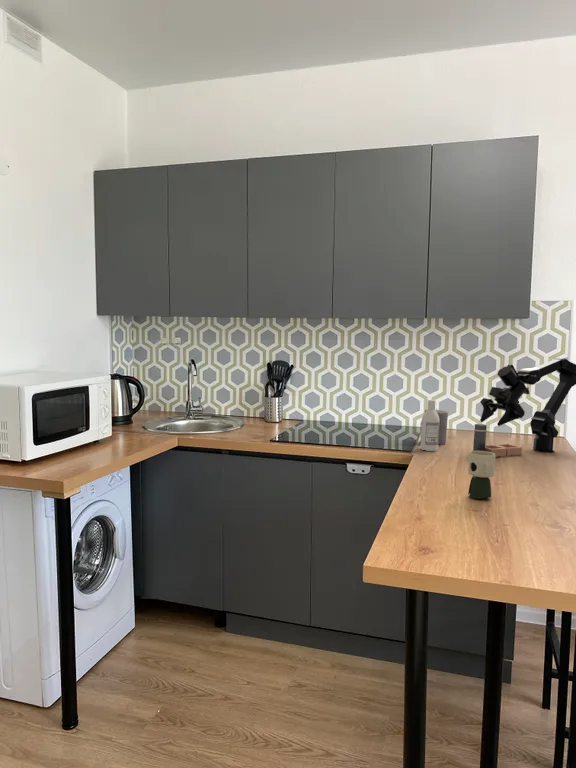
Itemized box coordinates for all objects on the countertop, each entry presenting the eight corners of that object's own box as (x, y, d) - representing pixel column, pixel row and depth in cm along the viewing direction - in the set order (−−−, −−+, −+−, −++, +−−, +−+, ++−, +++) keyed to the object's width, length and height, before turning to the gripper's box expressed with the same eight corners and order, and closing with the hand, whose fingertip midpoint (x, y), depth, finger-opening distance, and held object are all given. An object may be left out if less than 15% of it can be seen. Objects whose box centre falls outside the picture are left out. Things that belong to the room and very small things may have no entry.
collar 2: (507, 451, 240) (507, 443, 240) (521, 454, 233) (521, 447, 233) (493, 452, 237) (493, 444, 236) (507, 455, 230) (507, 448, 230)
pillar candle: (418, 442, 253) (420, 407, 252) (430, 439, 260) (432, 405, 259) (438, 446, 246) (440, 410, 245) (450, 443, 253) (452, 408, 252)
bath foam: (441, 451, 236) (444, 400, 234) (428, 452, 233) (431, 401, 231) (429, 447, 242) (432, 398, 240) (416, 449, 239) (418, 399, 237)
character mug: (461, 492, 175) (463, 448, 174) (485, 493, 175) (487, 449, 174) (473, 503, 164) (476, 456, 163) (498, 503, 164) (501, 457, 163)
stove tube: (479, 454, 232) (481, 423, 231) (487, 456, 228) (489, 425, 227) (470, 454, 230) (471, 424, 229) (478, 457, 226) (480, 426, 225)
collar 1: (492, 452, 236) (492, 444, 236) (506, 456, 230) (506, 448, 229) (477, 453, 233) (478, 445, 233) (491, 457, 227) (491, 449, 226)
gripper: (485, 377, 239) (462, 405, 235) (521, 382, 222) (496, 412, 218) (499, 397, 243) (476, 424, 239) (535, 402, 226) (511, 432, 222)
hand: (489, 423), depth 230 cm, fingers open, 9 cm apart
